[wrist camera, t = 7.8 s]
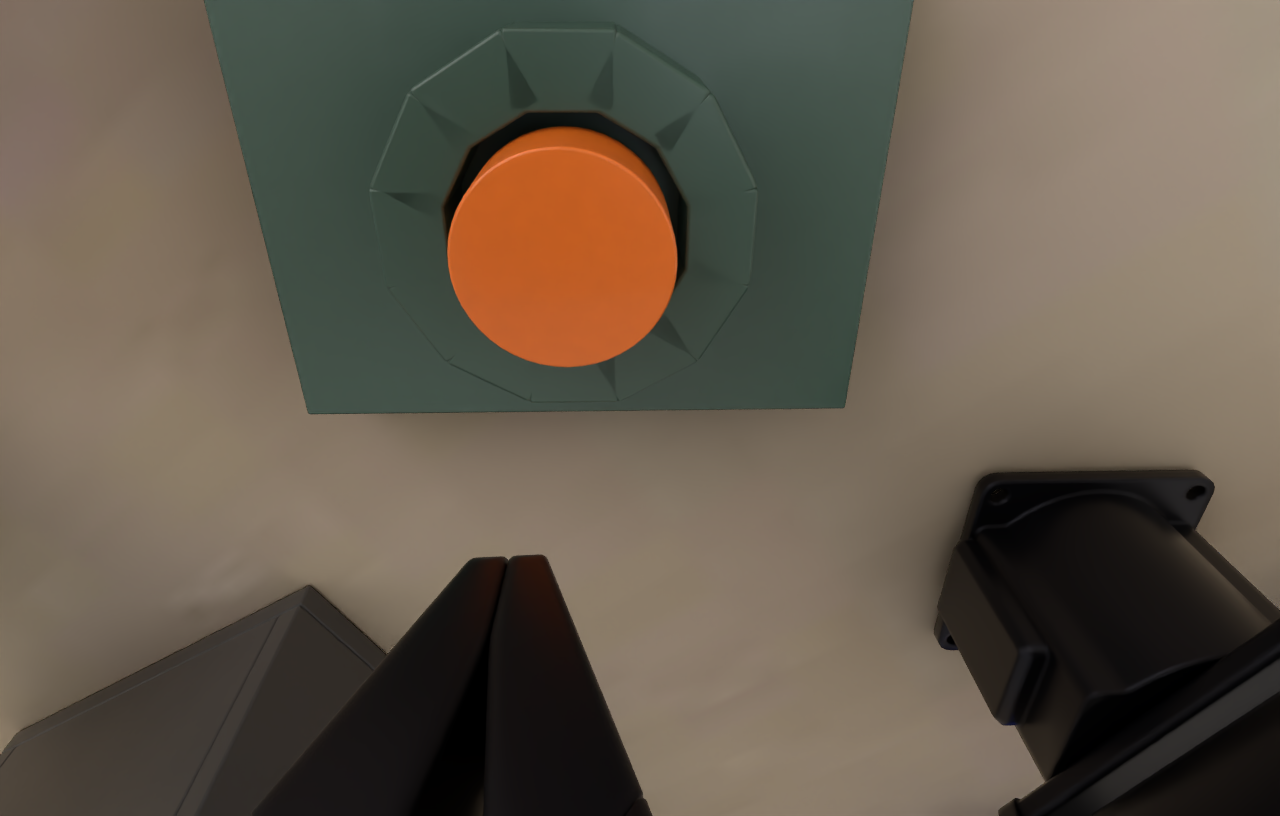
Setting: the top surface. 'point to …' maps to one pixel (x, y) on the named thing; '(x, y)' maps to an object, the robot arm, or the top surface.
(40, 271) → the top surface
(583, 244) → the button
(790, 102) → the control block
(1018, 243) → the top surface
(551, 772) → the robot arm
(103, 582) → the top surface
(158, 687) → the dark grey lidded case
